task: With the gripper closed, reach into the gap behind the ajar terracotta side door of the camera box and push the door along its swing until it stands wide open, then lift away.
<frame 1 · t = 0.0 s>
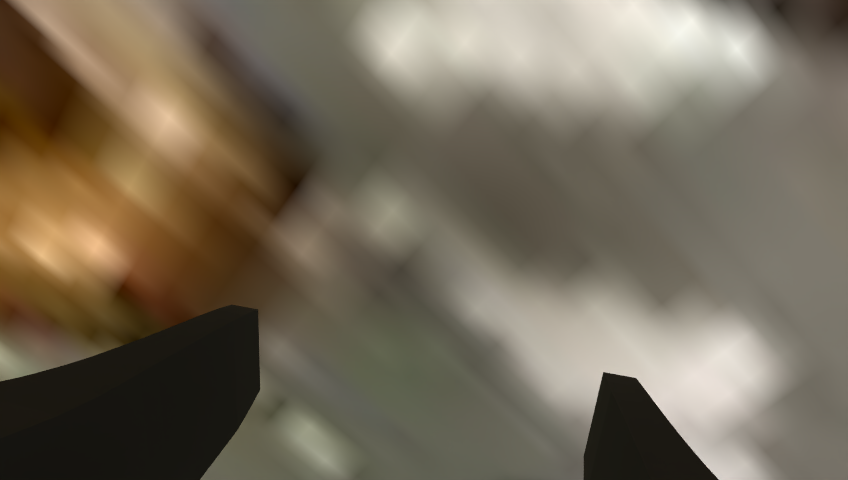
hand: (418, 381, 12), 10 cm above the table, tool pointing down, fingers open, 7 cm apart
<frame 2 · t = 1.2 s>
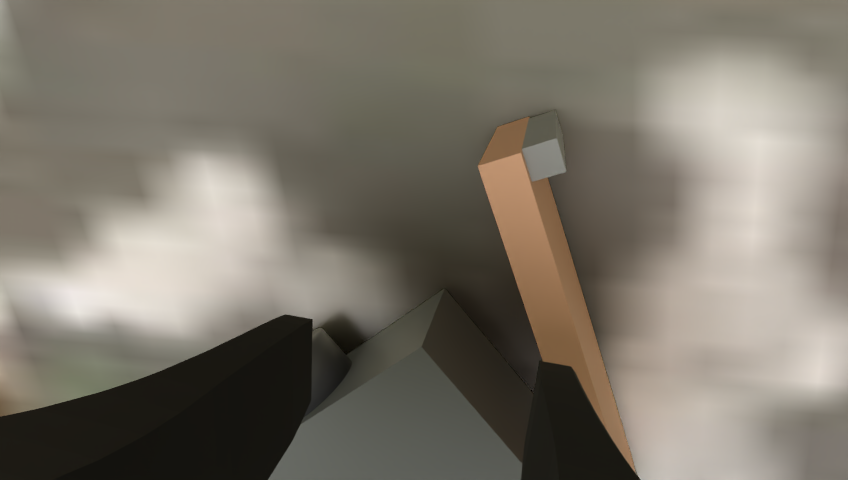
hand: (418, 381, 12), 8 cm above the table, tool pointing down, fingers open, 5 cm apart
side door: (591, 360, 17), point 3 cm above the table, hinge at 20.0°
camera box: (418, 453, 23), on the table
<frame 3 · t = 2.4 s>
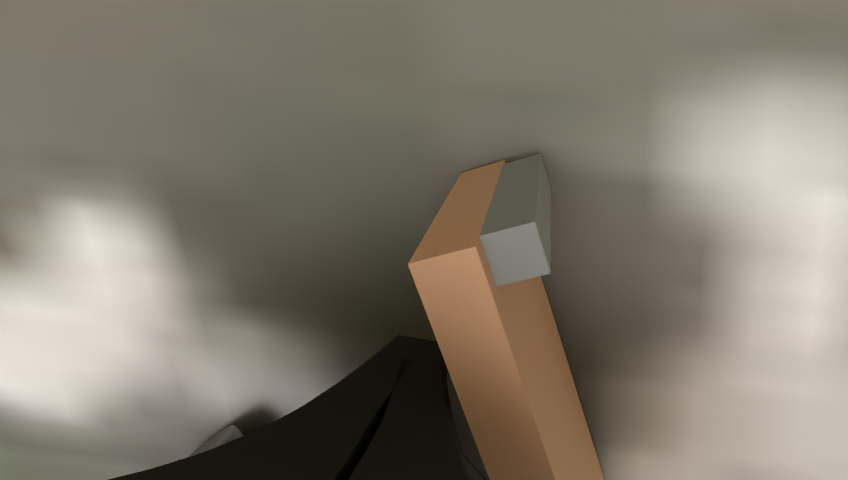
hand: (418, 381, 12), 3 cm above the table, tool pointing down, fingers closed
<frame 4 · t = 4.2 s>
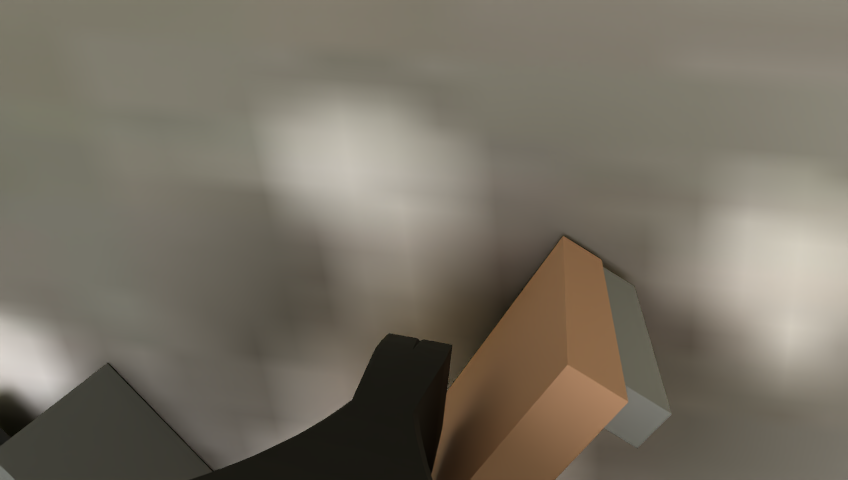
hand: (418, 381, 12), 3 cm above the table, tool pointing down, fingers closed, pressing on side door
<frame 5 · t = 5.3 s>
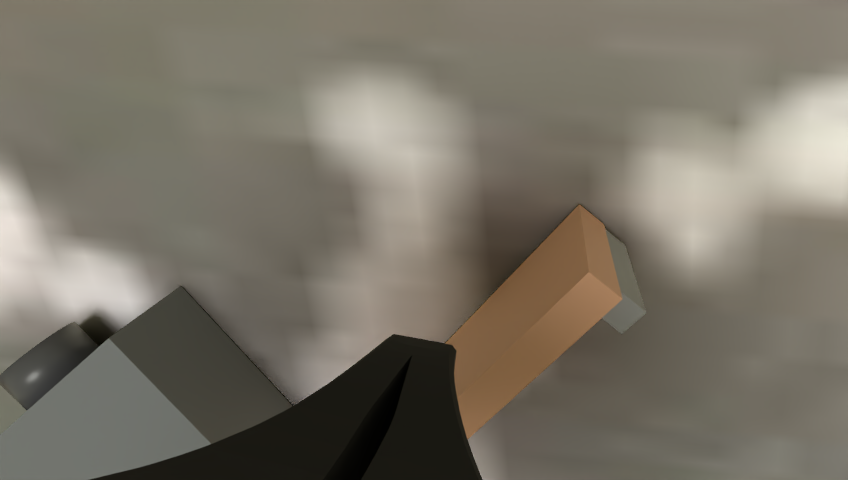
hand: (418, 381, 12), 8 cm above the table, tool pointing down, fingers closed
side door: (449, 406, 18), point 3 cm above the table, hinge at 77.4°
camera box: (186, 437, 25), on the table
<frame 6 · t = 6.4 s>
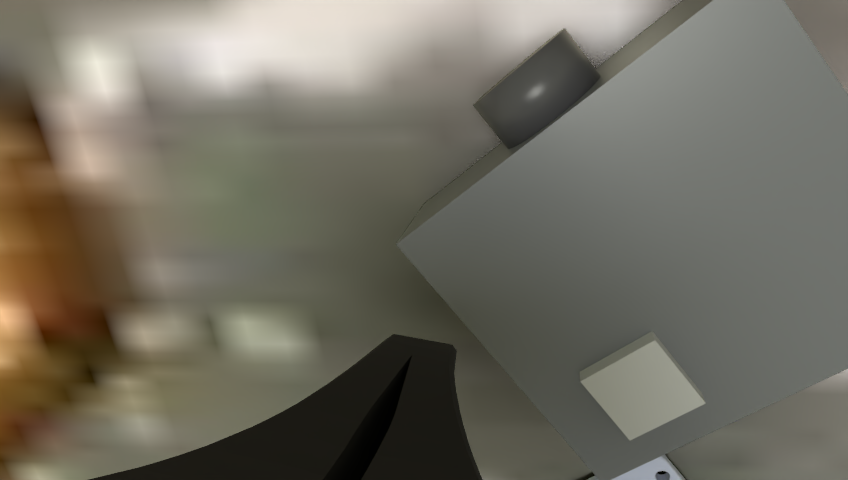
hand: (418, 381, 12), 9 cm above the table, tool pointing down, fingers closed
camera box: (644, 222, 19), on the table
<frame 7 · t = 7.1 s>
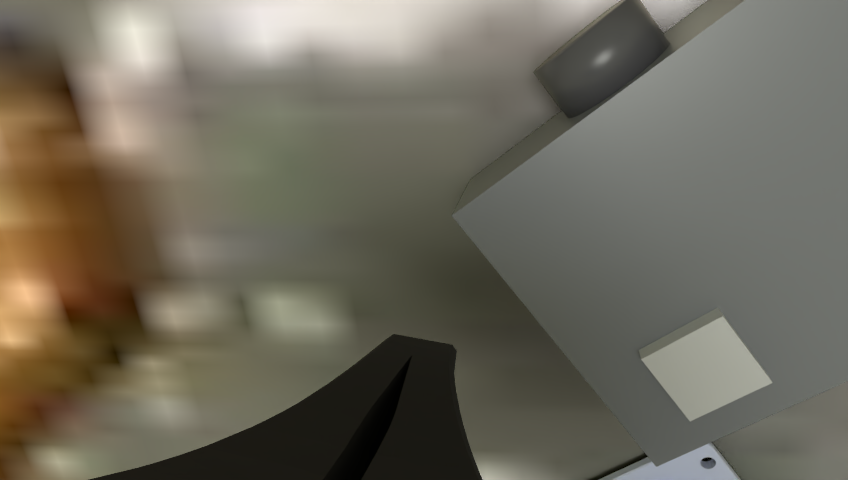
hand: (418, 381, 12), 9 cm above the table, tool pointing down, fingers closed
camera box: (700, 200, 19), on the table
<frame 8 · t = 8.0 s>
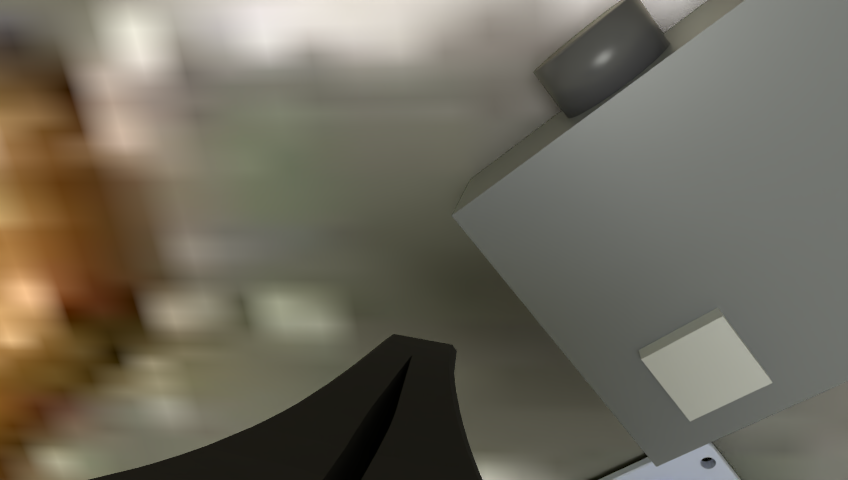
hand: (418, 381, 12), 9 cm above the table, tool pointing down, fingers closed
camera box: (700, 200, 19), on the table
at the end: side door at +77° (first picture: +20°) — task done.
